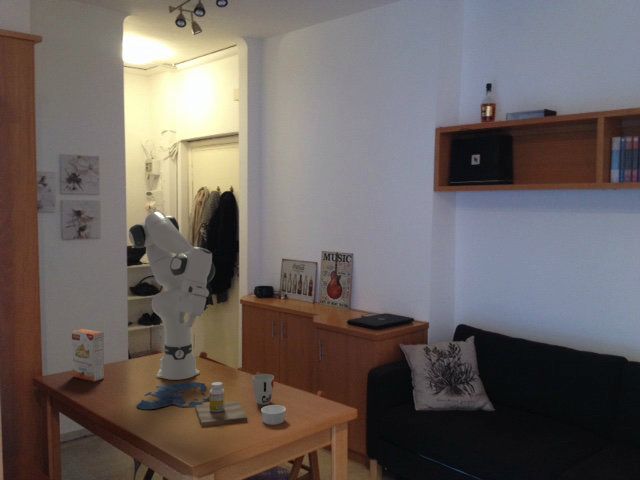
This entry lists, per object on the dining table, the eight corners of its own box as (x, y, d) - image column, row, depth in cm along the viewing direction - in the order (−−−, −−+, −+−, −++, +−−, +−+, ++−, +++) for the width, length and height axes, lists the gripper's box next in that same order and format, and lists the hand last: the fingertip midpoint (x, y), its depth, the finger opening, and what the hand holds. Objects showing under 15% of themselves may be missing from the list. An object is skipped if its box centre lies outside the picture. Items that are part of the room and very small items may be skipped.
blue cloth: (204, 382, 251) (203, 381, 251) (211, 405, 224) (211, 403, 224) (138, 388, 244) (138, 386, 244) (137, 411, 216) (137, 409, 216)
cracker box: (71, 377, 257) (70, 330, 256) (83, 374, 263) (82, 328, 261) (93, 382, 250) (92, 334, 249) (104, 378, 256) (104, 331, 254)
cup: (262, 407, 221) (262, 381, 220) (248, 402, 226) (248, 377, 226) (278, 402, 227) (278, 376, 226) (264, 397, 232) (264, 372, 232)
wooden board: (195, 409, 218) (195, 405, 218) (237, 404, 224) (237, 401, 223) (201, 426, 201) (201, 422, 201) (247, 421, 206) (247, 417, 206)
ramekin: (277, 427, 201) (277, 415, 201) (256, 422, 206) (256, 410, 206) (290, 419, 209) (290, 407, 209) (270, 414, 214) (270, 403, 213)
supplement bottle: (213, 406, 217) (213, 380, 217) (227, 407, 216) (226, 382, 215) (207, 411, 212) (206, 385, 212) (220, 412, 211) (220, 386, 210)
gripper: (176, 285, 229) (167, 320, 227) (195, 289, 212) (186, 326, 210) (191, 289, 232) (183, 323, 231) (211, 292, 215) (202, 329, 213)
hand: (184, 325), depth 220 cm, fingers open, 8 cm apart
